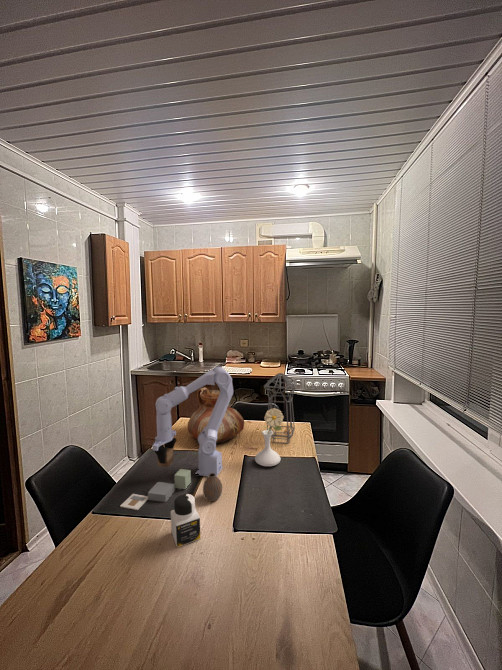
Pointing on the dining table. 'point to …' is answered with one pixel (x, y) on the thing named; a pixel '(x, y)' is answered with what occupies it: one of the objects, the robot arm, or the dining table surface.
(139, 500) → the card
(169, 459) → the walnut block
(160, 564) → the dining table surface
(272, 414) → the flower in vase
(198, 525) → the medicine bottle
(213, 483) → the brown coconut
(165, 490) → the grey square block
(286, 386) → the geometric lantern
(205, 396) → the jug
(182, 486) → the sage block
